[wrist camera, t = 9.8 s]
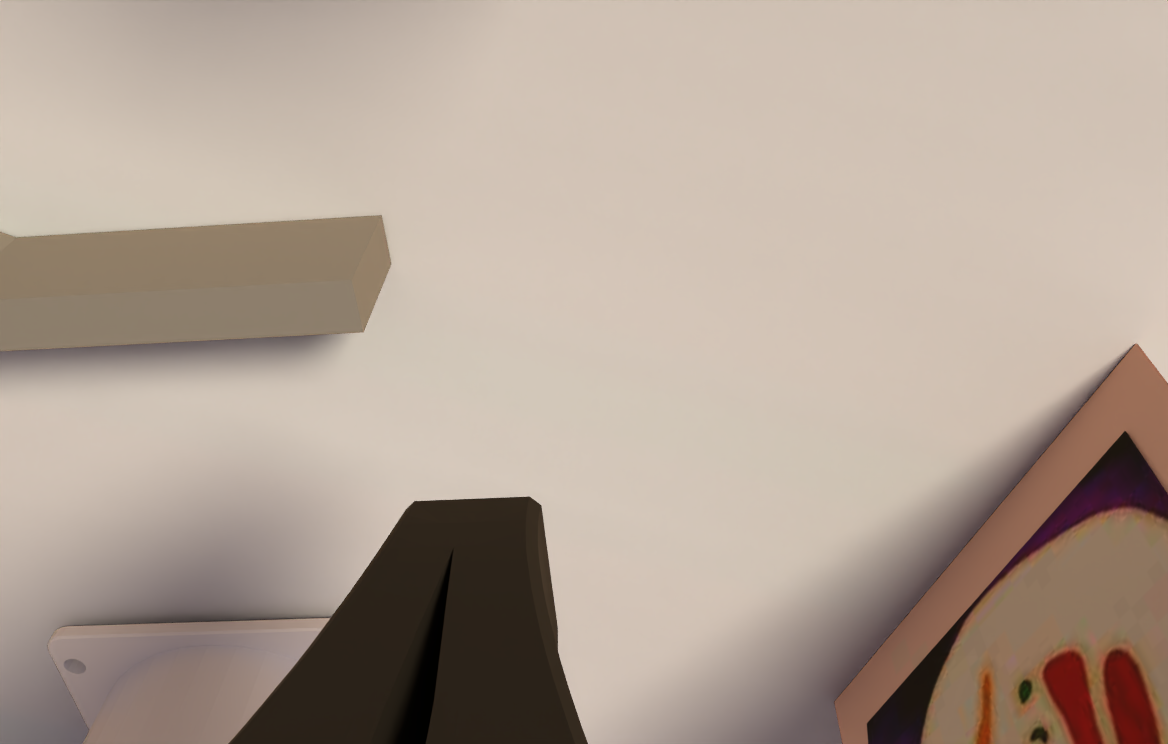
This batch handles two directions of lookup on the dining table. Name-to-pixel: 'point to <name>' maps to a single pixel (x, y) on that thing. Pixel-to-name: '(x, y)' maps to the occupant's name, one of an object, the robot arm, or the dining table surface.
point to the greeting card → (1045, 600)
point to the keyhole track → (191, 283)
